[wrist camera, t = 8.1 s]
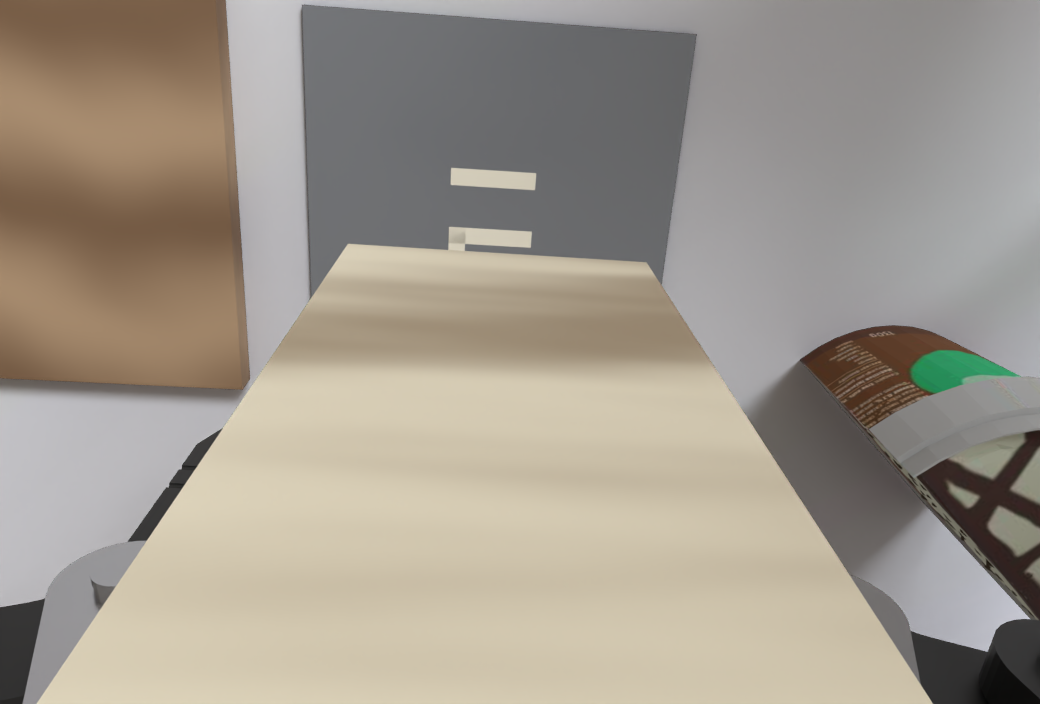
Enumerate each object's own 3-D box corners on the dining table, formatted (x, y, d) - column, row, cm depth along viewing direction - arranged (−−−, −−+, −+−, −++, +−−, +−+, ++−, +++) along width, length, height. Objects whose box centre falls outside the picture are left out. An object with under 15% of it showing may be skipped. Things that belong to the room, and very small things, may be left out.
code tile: (303, 4, 26) (301, 4, 25) (695, 34, 26) (696, 34, 26) (314, 370, 30) (313, 372, 30) (645, 386, 31) (646, 388, 31)
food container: (1068, 438, 33) (1296, 597, 24) (943, 525, 34) (1111, 707, 25) (911, 227, 29) (1106, 316, 20) (777, 334, 31) (901, 464, 21)
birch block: (348, 243, 13) (-13, 773, 4) (646, 262, 13) (994, 799, 4) (350, 501, 15) (116, 1274, 6) (612, 511, 15) (795, 1267, 6)
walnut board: (-166, -48, 25) (-192, -51, 24) (224, -18, 25) (214, -20, 24) (-72, 363, 30) (-90, 374, 29) (249, 378, 31) (242, 389, 30)
